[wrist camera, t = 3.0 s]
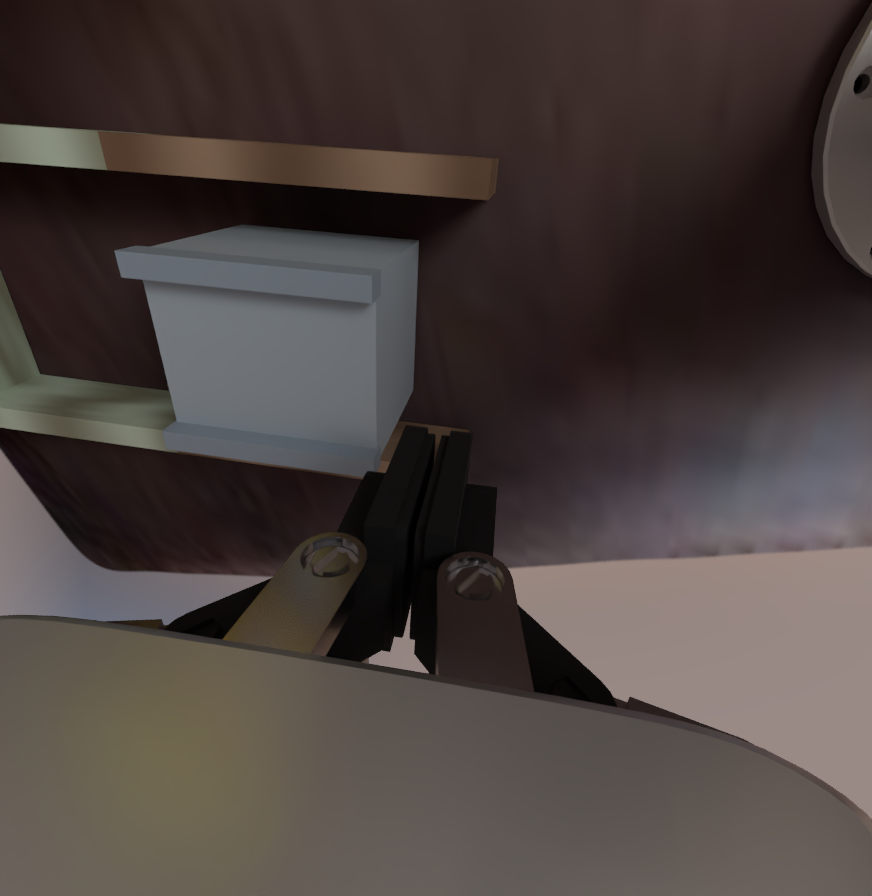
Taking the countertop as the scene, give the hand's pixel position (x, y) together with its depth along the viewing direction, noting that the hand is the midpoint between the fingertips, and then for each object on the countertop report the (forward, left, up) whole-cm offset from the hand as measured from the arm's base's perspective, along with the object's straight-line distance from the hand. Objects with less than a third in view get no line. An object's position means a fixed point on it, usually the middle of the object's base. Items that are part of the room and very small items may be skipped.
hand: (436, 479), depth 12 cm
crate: (+7, 0, -12) cm, 14 cm away
